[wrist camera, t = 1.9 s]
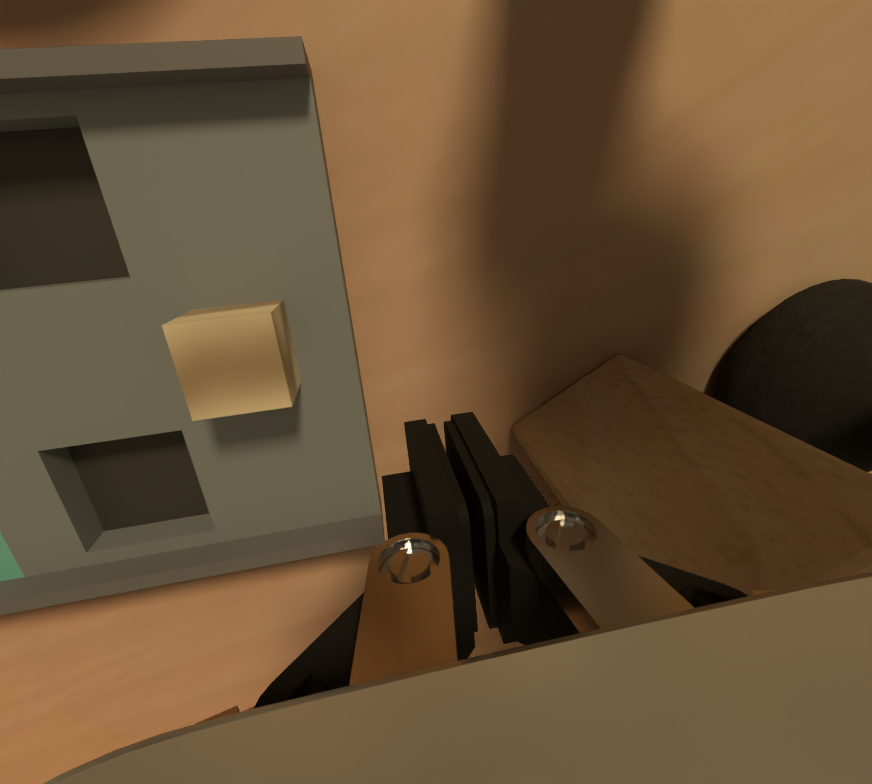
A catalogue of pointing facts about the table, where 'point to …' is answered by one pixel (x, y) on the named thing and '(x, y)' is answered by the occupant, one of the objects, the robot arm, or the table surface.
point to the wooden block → (700, 481)
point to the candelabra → (810, 370)
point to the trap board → (166, 319)
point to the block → (234, 359)
